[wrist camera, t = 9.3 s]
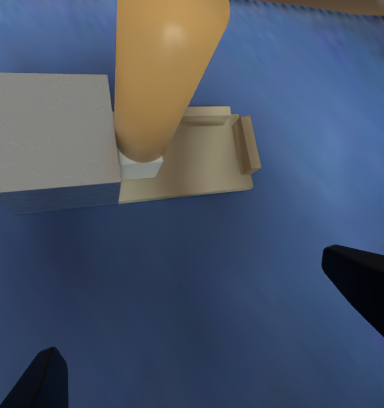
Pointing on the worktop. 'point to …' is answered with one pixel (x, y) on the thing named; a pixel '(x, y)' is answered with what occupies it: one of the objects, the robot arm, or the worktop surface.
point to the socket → (57, 143)
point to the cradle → (201, 158)
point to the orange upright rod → (159, 73)
